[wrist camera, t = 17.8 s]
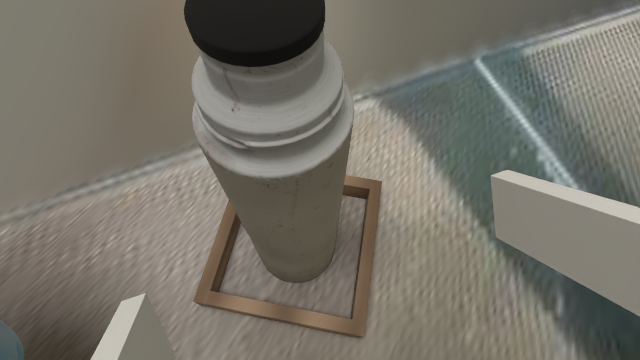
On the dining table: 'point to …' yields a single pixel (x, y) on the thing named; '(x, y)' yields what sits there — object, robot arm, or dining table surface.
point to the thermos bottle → (274, 124)
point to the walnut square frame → (350, 327)
